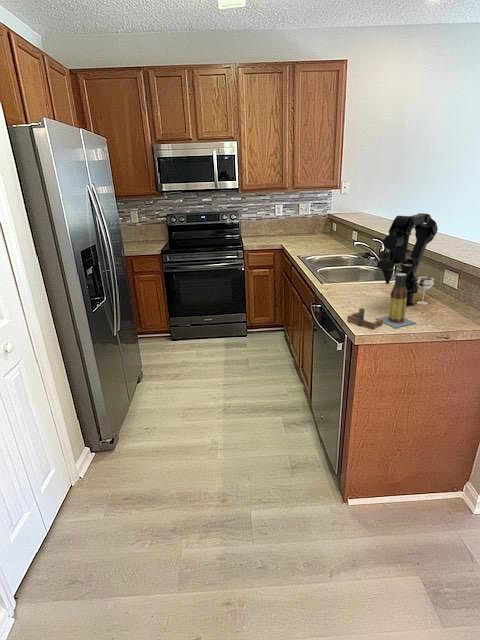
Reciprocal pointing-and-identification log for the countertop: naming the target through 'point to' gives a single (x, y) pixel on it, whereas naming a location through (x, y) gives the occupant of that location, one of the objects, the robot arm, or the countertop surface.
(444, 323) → the countertop surface
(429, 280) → the wineglass
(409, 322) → the slate mat
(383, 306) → the countertop surface
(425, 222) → the robot arm
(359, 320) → the c holder
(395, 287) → the sauce bottle
